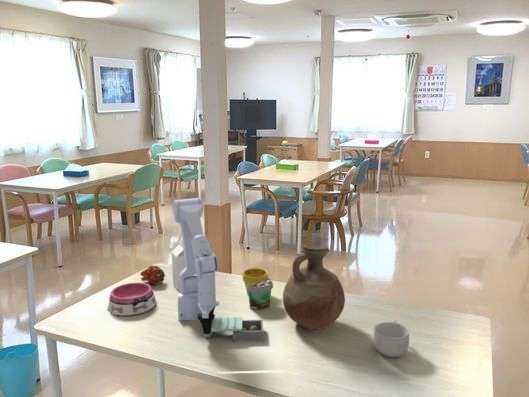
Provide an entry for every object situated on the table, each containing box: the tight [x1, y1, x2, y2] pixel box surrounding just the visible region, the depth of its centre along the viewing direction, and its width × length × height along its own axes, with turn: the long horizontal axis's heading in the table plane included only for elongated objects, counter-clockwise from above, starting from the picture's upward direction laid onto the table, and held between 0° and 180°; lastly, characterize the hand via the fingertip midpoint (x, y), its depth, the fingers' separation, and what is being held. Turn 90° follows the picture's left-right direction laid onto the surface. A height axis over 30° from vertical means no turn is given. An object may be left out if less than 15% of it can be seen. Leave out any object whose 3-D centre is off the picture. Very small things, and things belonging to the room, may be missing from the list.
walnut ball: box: [250, 326, 258, 331], centre depth 153 cm, size 3×3×3 cm
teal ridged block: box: [204, 316, 243, 338], centre depth 152 cm, size 12×8×6 cm, turn 92°
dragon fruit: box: [140, 265, 166, 286], centre depth 198 cm, size 8×8×12 cm
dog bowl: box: [107, 282, 157, 318], centre depth 176 cm, size 18×19×7 cm
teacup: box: [373, 319, 411, 358], centre depth 144 cm, size 14×11×8 cm
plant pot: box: [242, 267, 269, 297], centre depth 185 cm, size 10×10×10 cm
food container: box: [246, 276, 274, 310], centre depth 173 cm, size 12×6×10 cm, turn 143°
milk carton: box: [171, 241, 194, 291], centre depth 193 cm, size 7×7×19 cm
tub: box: [232, 319, 264, 343], centre depth 152 cm, size 10×8×4 cm
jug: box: [282, 244, 346, 331], centre depth 157 cm, size 22×22×30 cm
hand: (207, 328), depth 152 cm, fingers open, 7 cm apart
